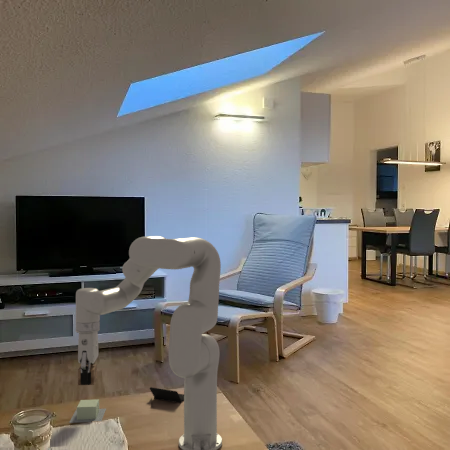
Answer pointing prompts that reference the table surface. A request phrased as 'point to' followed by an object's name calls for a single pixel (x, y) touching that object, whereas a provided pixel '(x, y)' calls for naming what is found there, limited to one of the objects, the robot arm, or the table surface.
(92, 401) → the sage base block
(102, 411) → the board
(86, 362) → the robot arm
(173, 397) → the handheld gaming console
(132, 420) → the table surface
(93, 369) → the walnut cube
